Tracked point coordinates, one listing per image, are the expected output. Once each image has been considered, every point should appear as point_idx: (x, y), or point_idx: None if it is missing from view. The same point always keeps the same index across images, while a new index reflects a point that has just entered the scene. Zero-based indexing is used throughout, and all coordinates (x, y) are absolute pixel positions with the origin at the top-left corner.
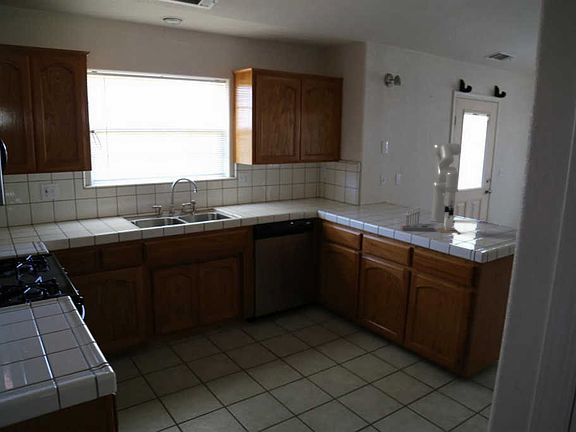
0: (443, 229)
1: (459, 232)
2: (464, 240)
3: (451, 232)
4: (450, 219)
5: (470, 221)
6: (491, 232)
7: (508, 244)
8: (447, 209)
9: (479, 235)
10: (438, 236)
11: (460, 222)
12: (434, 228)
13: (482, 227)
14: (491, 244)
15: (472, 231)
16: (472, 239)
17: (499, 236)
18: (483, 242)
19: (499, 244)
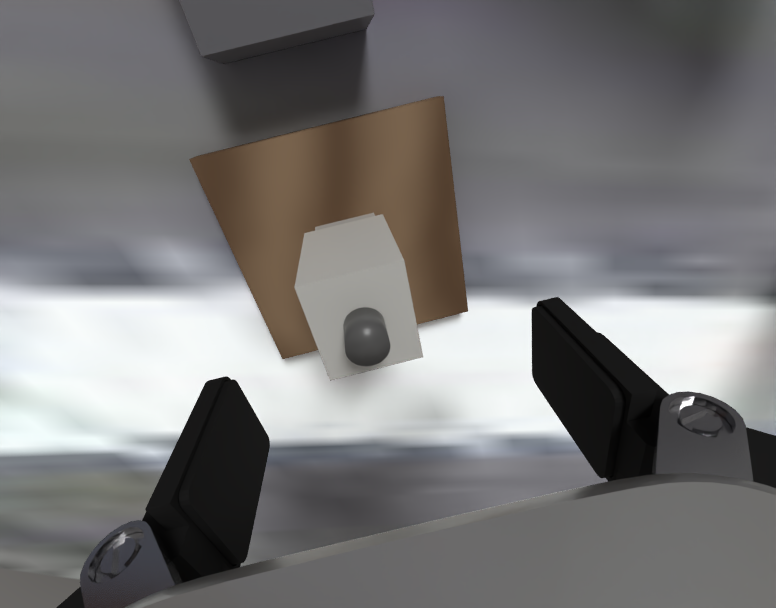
0: (377, 200)
1: (288, 354)
2: (32, 384)
3: (248, 285)
4: (319, 347)
5: (770, 404)
6: (436, 507)
7: None
8: (567, 395)
9: (313, 463)
10: (15, 118)
11: (757, 346)
12: (201, 53)
13: (578, 466)
14: (47, 527)
15: (438, 424)
16: (130, 433)
17: (335, 540)
18: (74, 491)
19: (89, 554)
